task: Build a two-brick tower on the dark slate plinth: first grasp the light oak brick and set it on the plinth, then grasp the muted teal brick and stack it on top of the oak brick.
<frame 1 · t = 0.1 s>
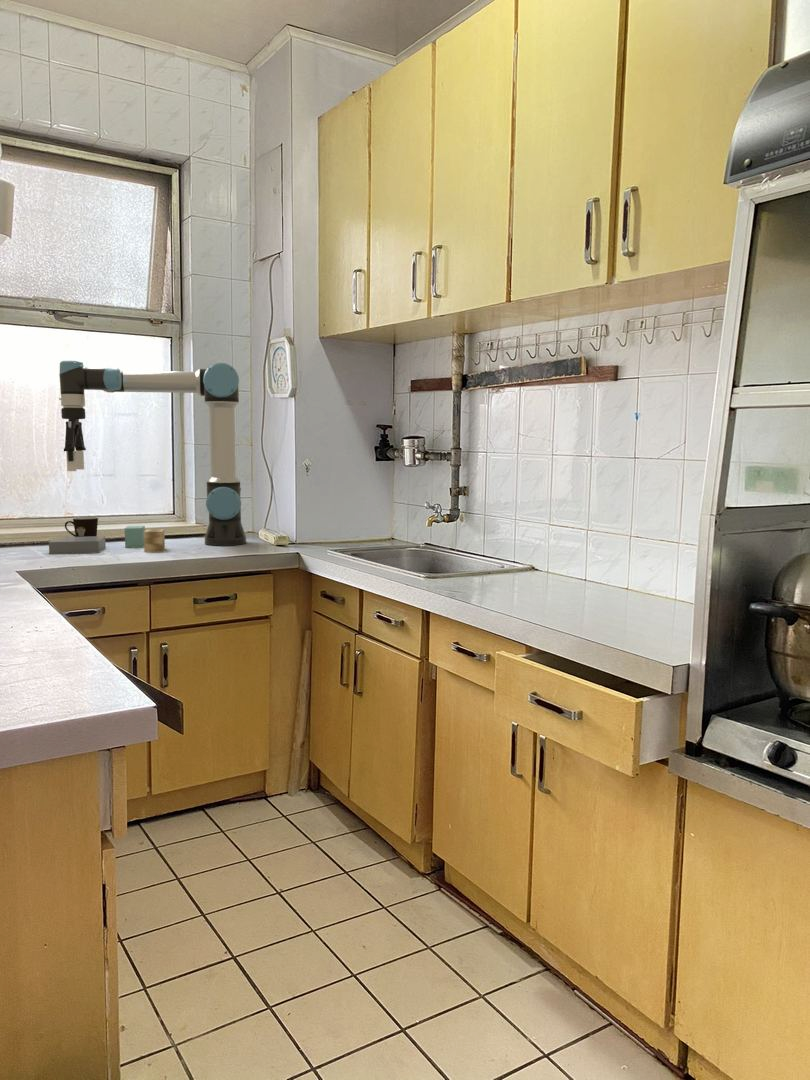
hand: (76, 470, 281), 28 cm above the countertop, tool pointing down, fingers open, 13 cm apart
teal brick: (135, 546, 299), on the countertop
oak brick: (154, 550, 289), on the countertop
slate plinth: (78, 550, 287), on the countertop
coffee mug: (84, 545, 301), on the countertop
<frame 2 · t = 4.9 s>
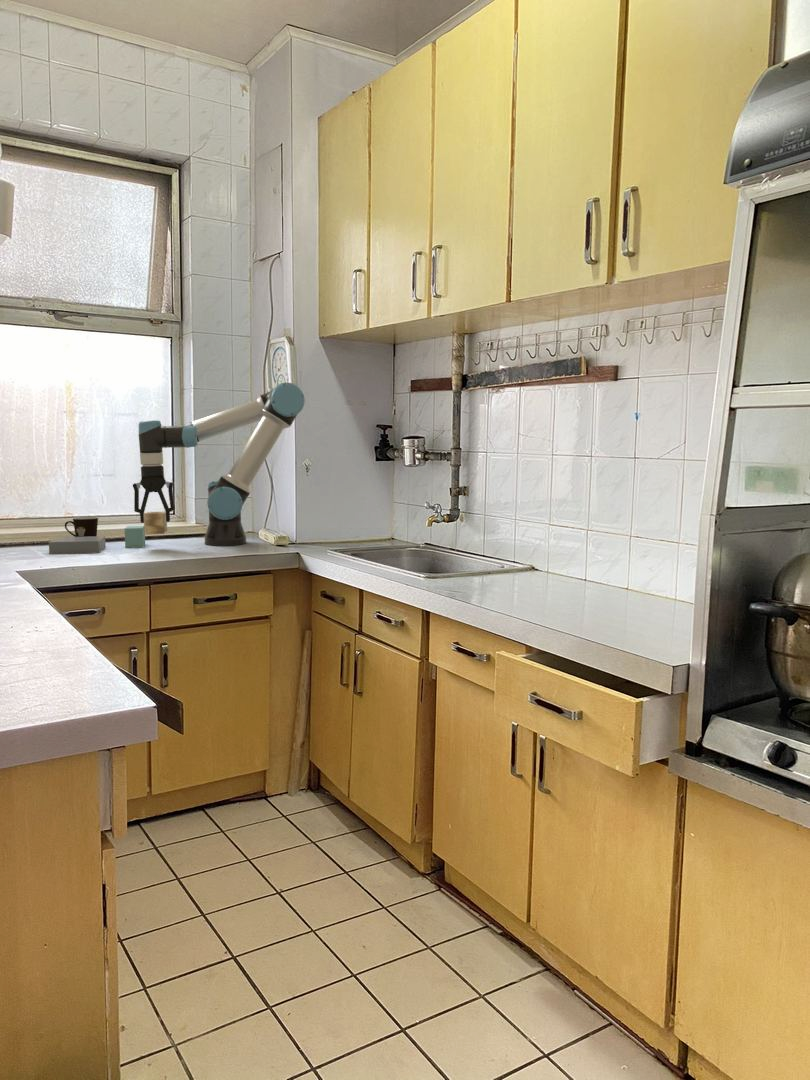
hand: (156, 531, 288), 7 cm above the countertop, tool pointing down, fingers closed on oak brick, 6 cm apart
oak brick: (156, 532, 288), point 6 cm above the countertop, touching gripper
everything else where it was.
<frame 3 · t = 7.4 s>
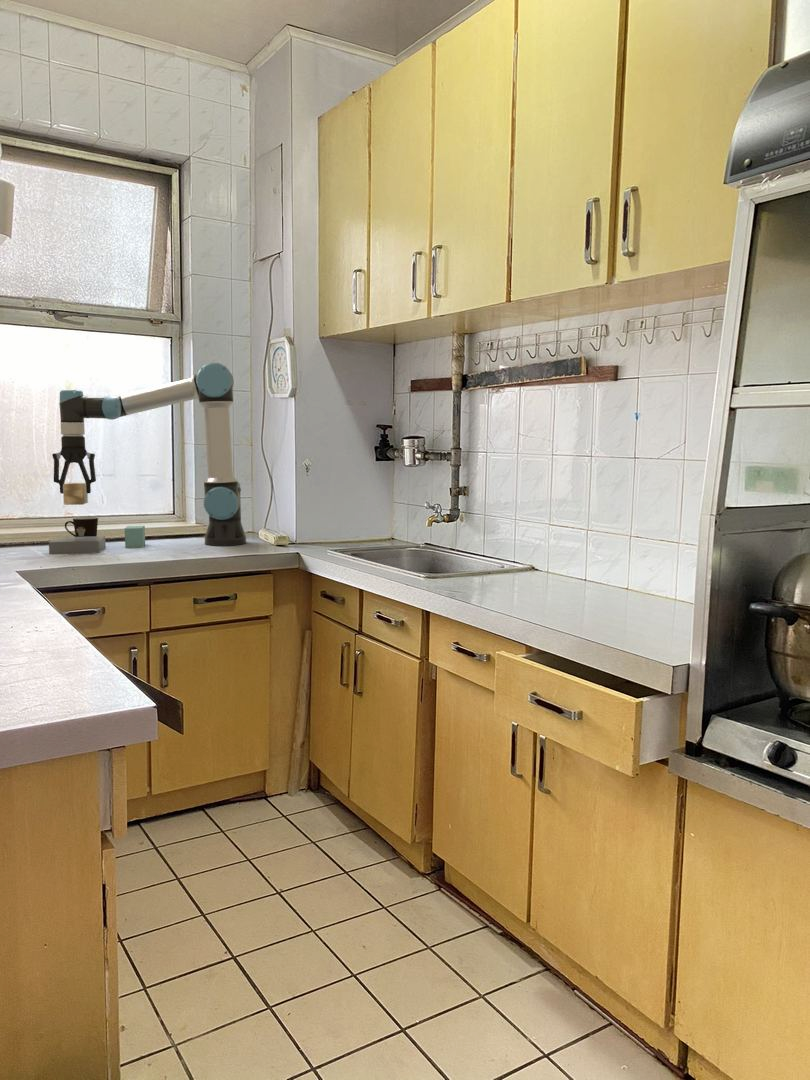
hand: (75, 502, 285), 17 cm above the countertop, tool pointing down, fingers closed on oak brick, 6 cm apart
oak brick: (75, 503, 285), point 16 cm above the countertop, touching gripper
everything else where it was.
when the fingers open (4 cm above the countertop, at t = 9.9 s): oak brick stays where it is, resting on slate plinth.
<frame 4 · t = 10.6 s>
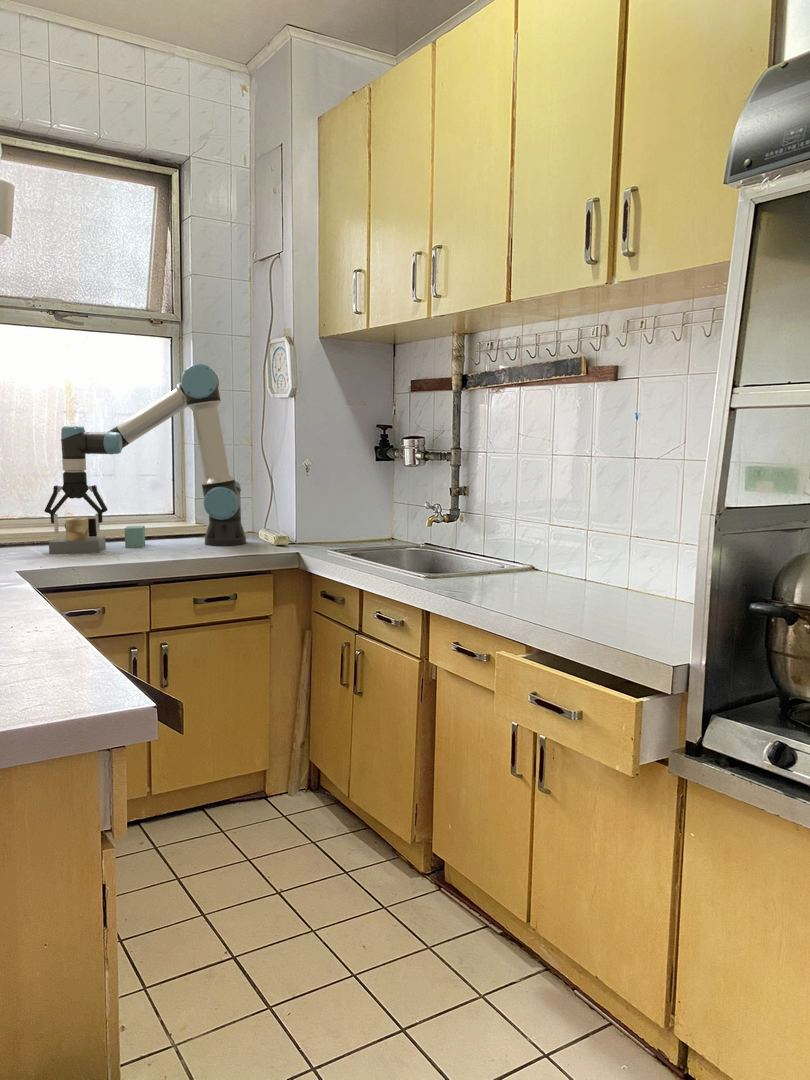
hand: (77, 532, 286), 6 cm above the countertop, tool pointing down, fingers open, 13 cm apart
oak brick: (77, 539, 286), point 4 cm above the countertop, touching slate plinth
everything else where it was.
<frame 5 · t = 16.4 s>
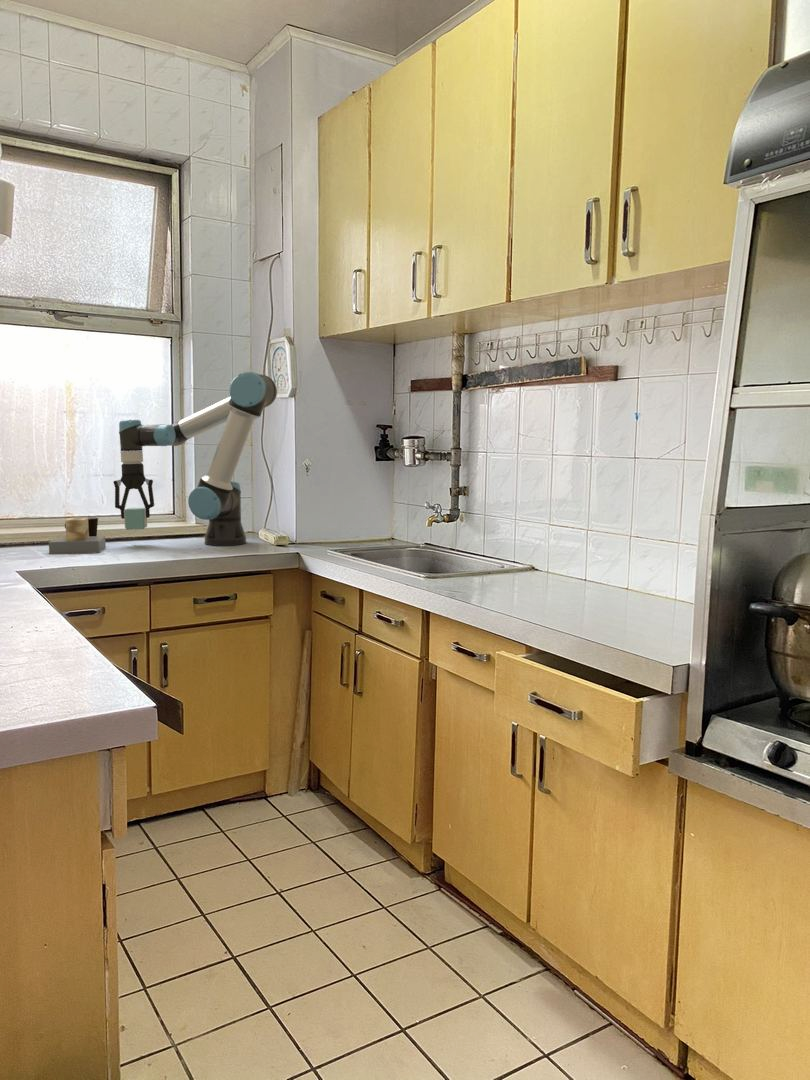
hand: (136, 527, 298), 7 cm above the countertop, tool pointing down, fingers closed on teal brick, 6 cm apart
teal brick: (136, 528, 298), point 6 cm above the countertop, touching gripper
everything else where it was.
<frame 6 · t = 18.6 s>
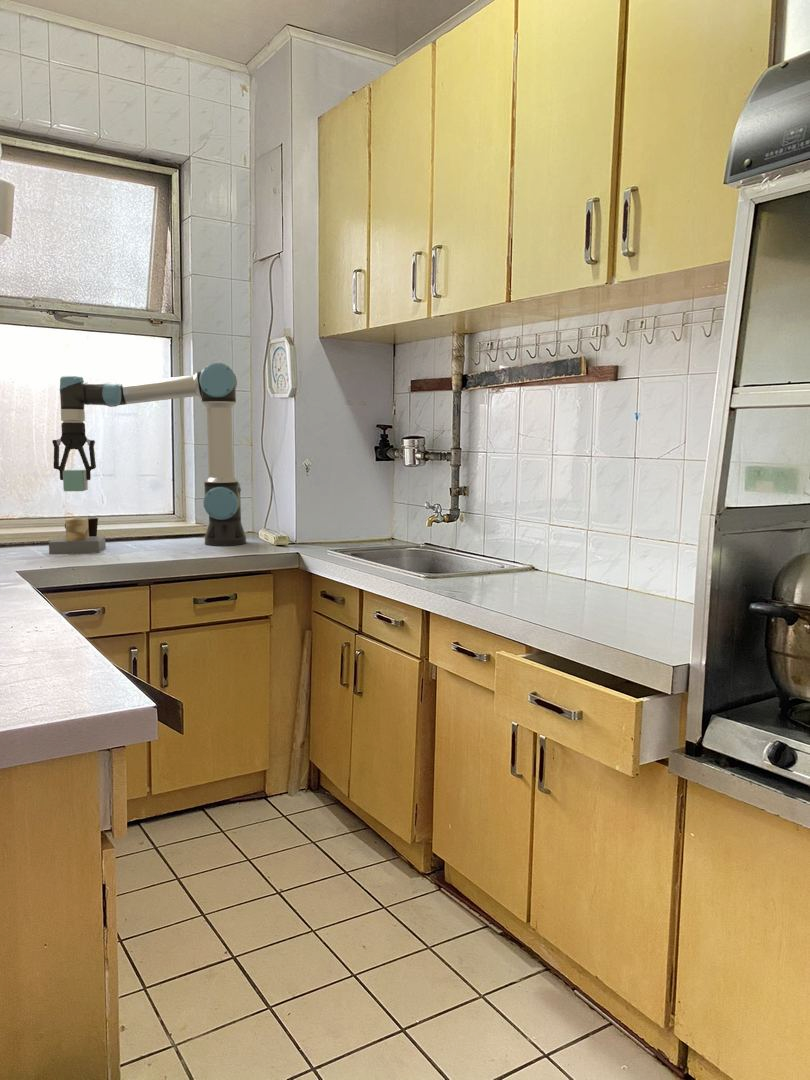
hand: (75, 489, 284), 21 cm above the countertop, tool pointing down, fingers closed on teal brick, 6 cm apart
teal brick: (75, 490, 285), point 21 cm above the countertop, touching gripper
everything else where it was.
when the fingers open (11 cm above the countertop, at t = 21.2 s): teal brick stays where it is, resting on oak brick.
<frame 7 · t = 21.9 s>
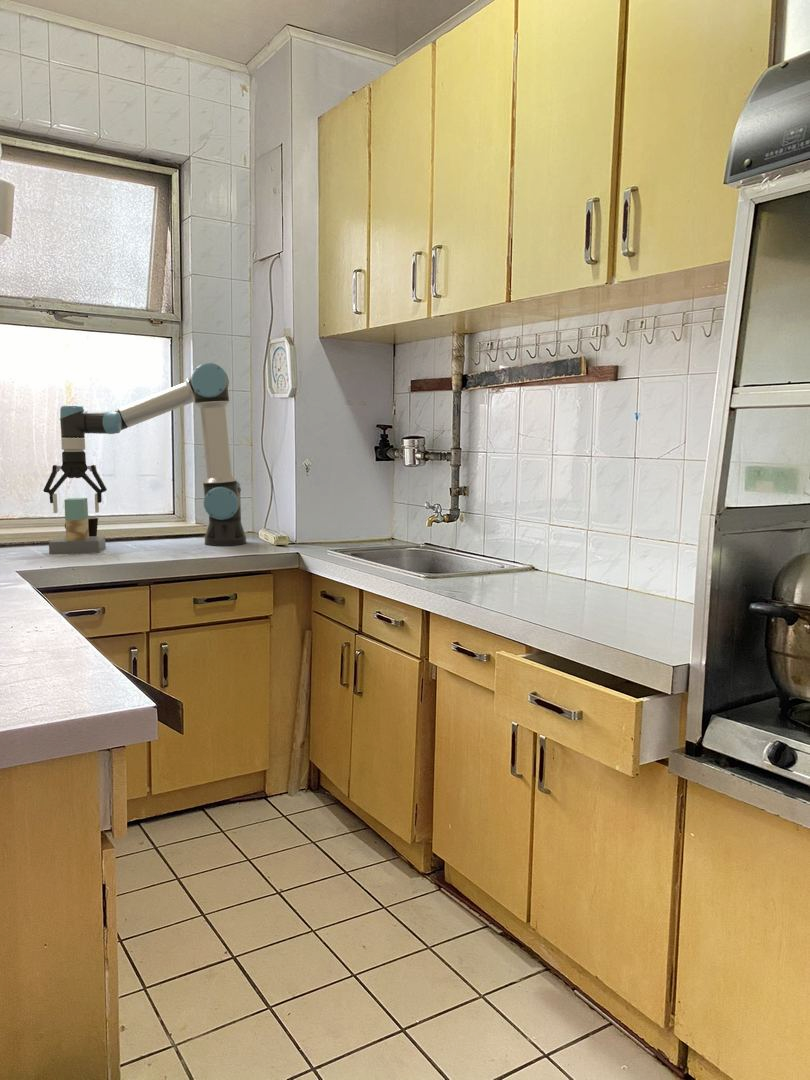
hand: (76, 512, 285), 13 cm above the countertop, tool pointing down, fingers open, 13 cm apart
teal brick: (76, 519, 286), point 11 cm above the countertop, touching oak brick
oak brick: (77, 539, 286), point 4 cm above the countertop, touching slate plinth, teal brick
everything else where it was.
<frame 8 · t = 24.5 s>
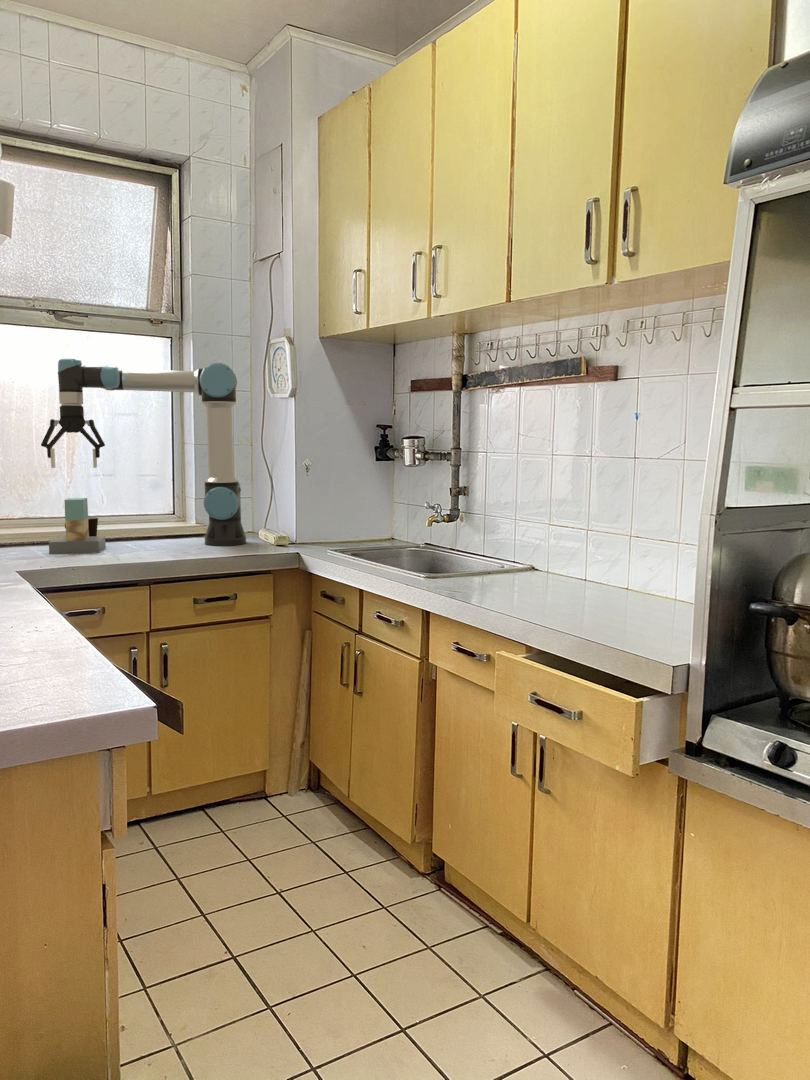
hand: (74, 467, 283), 29 cm above the countertop, tool pointing down, fingers open, 13 cm apart
nothing on the countertop moved.
at the end: oak brick 0.0 cm off-centre on the slate plinth, point 4.0 cm above the slate plinth's base; teal brick 0.1 cm off-centre on the oak brick, point 7.0 cm above the oak brick's base; teal brick tilted 0° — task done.
